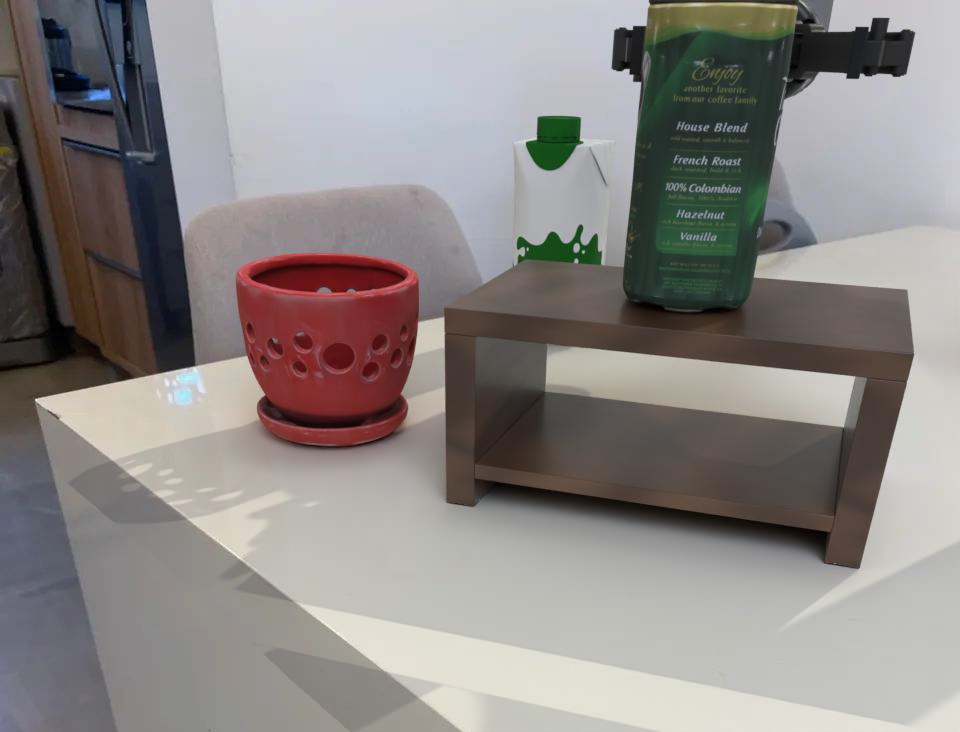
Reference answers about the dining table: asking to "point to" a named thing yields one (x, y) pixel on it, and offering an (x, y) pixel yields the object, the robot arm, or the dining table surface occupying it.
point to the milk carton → (561, 194)
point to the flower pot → (329, 344)
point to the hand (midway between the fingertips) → (743, 51)
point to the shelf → (673, 430)
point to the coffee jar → (705, 149)
